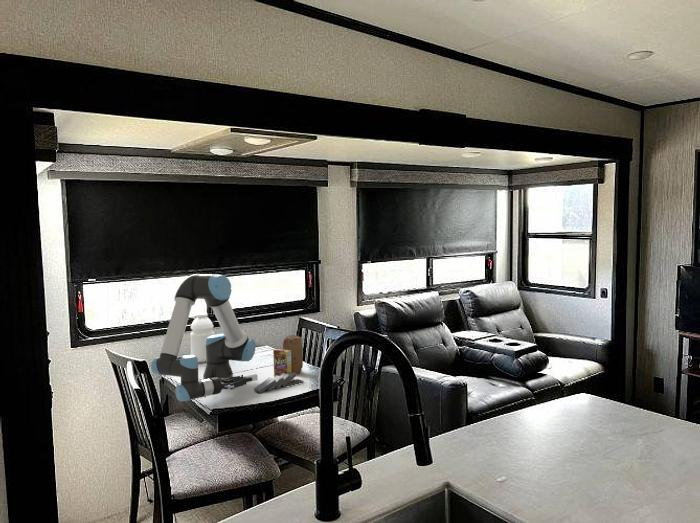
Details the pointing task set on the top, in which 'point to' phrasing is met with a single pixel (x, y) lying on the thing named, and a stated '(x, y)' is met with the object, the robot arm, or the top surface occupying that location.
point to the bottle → (200, 335)
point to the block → (294, 352)
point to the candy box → (282, 361)
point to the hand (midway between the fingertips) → (256, 377)
